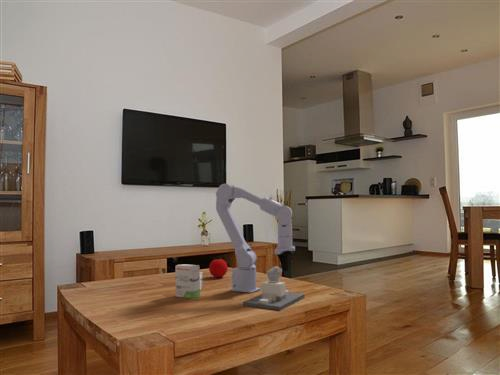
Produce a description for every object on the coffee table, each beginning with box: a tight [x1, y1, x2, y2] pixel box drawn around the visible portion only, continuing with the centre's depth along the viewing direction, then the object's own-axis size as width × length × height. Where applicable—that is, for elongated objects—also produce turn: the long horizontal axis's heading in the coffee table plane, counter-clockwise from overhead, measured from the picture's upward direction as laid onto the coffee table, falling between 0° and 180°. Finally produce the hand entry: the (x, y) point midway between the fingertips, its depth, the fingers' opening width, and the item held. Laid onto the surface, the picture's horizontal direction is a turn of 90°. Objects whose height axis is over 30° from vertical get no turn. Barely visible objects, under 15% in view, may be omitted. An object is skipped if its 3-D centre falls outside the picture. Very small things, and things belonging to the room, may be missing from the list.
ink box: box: [174, 263, 201, 299], centre depth 140 cm, size 9×5×12 cm, turn 59°
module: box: [260, 280, 287, 301], centre depth 129 cm, size 8×4×6 cm, turn 59°
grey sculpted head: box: [266, 265, 283, 281], centre depth 165 cm, size 6×7×7 cm
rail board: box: [242, 289, 305, 311], centre depth 130 cm, size 14×20×3 cm
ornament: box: [208, 256, 229, 278], centre depth 179 cm, size 9×9×10 cm
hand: (285, 270), depth 146 cm, fingers closed
